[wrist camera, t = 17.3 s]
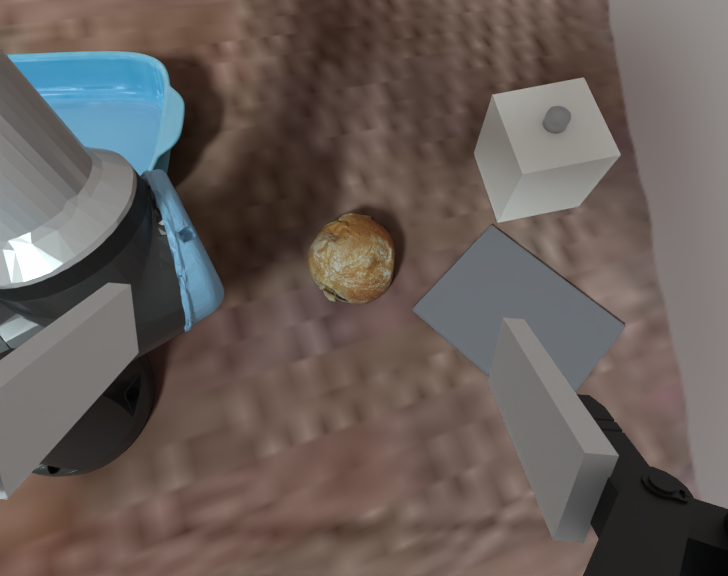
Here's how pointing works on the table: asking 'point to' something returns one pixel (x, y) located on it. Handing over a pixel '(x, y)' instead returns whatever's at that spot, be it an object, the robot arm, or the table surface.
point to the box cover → (543, 149)
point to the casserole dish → (111, 101)
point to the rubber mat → (516, 308)
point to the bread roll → (352, 259)
